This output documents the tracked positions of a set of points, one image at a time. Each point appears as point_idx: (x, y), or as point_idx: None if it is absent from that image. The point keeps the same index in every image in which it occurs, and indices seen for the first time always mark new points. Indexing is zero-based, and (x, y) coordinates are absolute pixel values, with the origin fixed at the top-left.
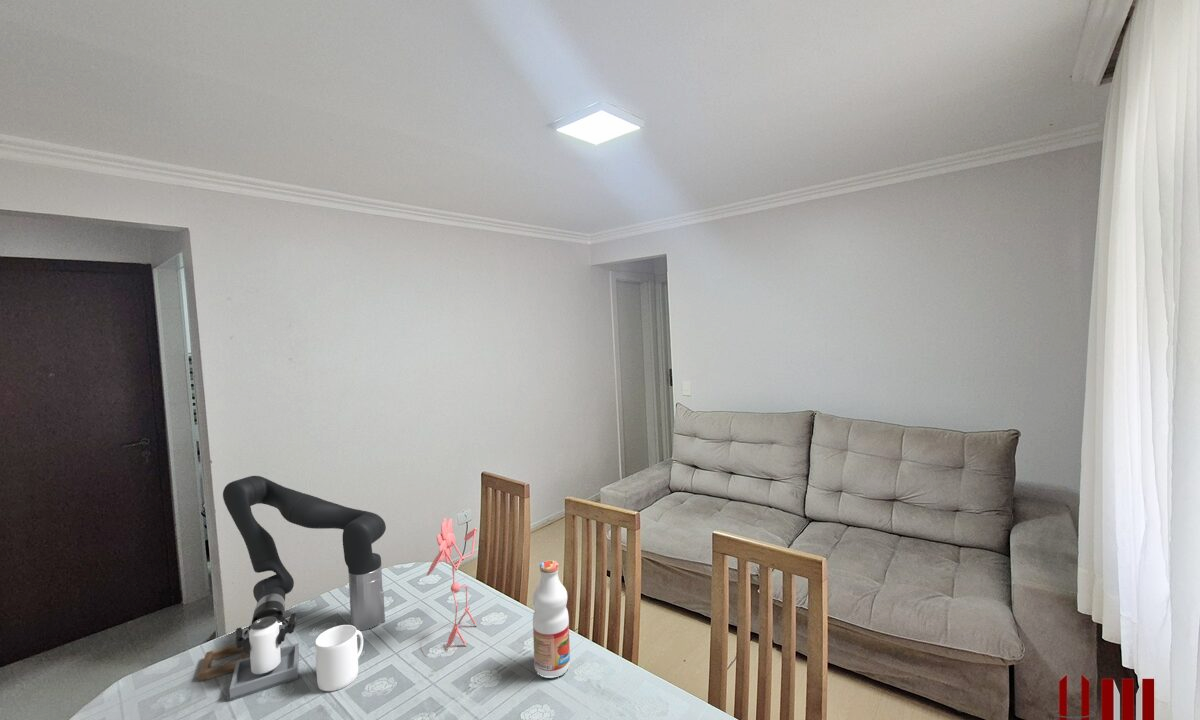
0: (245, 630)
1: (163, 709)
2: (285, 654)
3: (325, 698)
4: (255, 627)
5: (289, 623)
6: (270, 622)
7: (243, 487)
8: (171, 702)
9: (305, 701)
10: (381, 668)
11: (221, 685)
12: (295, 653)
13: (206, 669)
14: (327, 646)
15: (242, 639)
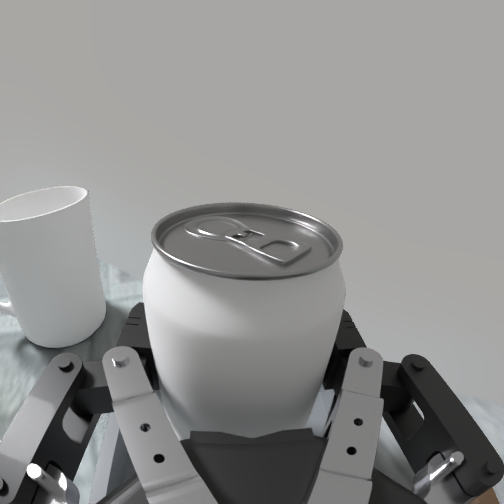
0: (436, 490)
1: (477, 400)
2: None
3: (108, 289)
4: (300, 234)
5: (68, 364)
6: (198, 235)
7: None
8: (479, 419)
9: (141, 299)
10: (3, 299)
11: (388, 461)
12: (113, 438)
13: (479, 499)
14: (42, 272)
15: (388, 370)
